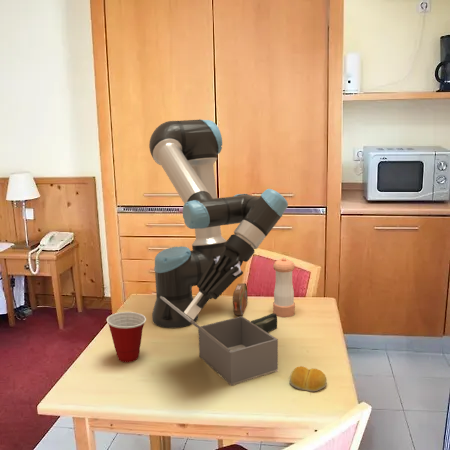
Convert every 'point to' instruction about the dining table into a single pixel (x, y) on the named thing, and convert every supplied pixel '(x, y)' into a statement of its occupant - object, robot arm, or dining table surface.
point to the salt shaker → (284, 289)
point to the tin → (240, 299)
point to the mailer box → (239, 350)
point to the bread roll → (307, 379)
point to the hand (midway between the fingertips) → (188, 316)
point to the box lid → (194, 324)
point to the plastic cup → (126, 334)
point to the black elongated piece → (266, 322)
